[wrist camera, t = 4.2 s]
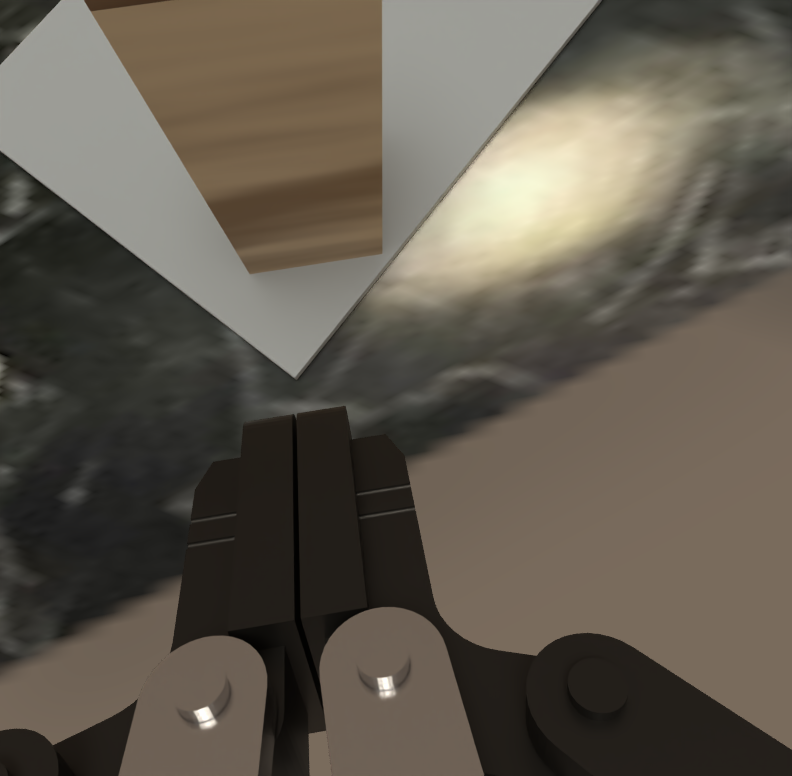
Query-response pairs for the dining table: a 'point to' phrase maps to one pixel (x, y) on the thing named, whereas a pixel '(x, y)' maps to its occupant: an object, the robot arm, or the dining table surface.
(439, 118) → the rubber mat
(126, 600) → the dining table surface
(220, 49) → the birch block
